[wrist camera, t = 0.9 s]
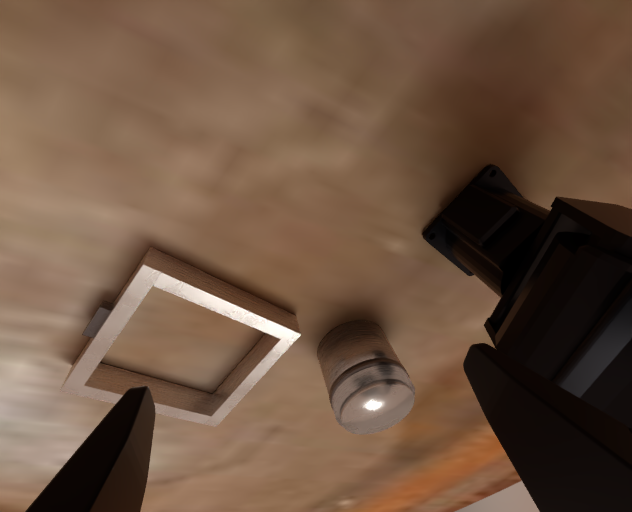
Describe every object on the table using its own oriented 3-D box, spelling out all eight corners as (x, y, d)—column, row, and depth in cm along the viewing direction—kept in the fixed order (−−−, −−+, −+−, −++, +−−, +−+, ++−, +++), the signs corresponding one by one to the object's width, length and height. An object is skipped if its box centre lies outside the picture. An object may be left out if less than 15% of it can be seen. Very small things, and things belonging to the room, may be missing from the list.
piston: (398, 335, 28) (435, 395, 23) (352, 379, 30) (377, 443, 25) (350, 309, 25) (379, 370, 20) (302, 359, 27) (318, 427, 22)
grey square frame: (296, 315, 24) (300, 334, 23) (216, 404, 27) (216, 426, 26) (140, 241, 19) (131, 259, 17) (62, 363, 22) (48, 388, 20)
